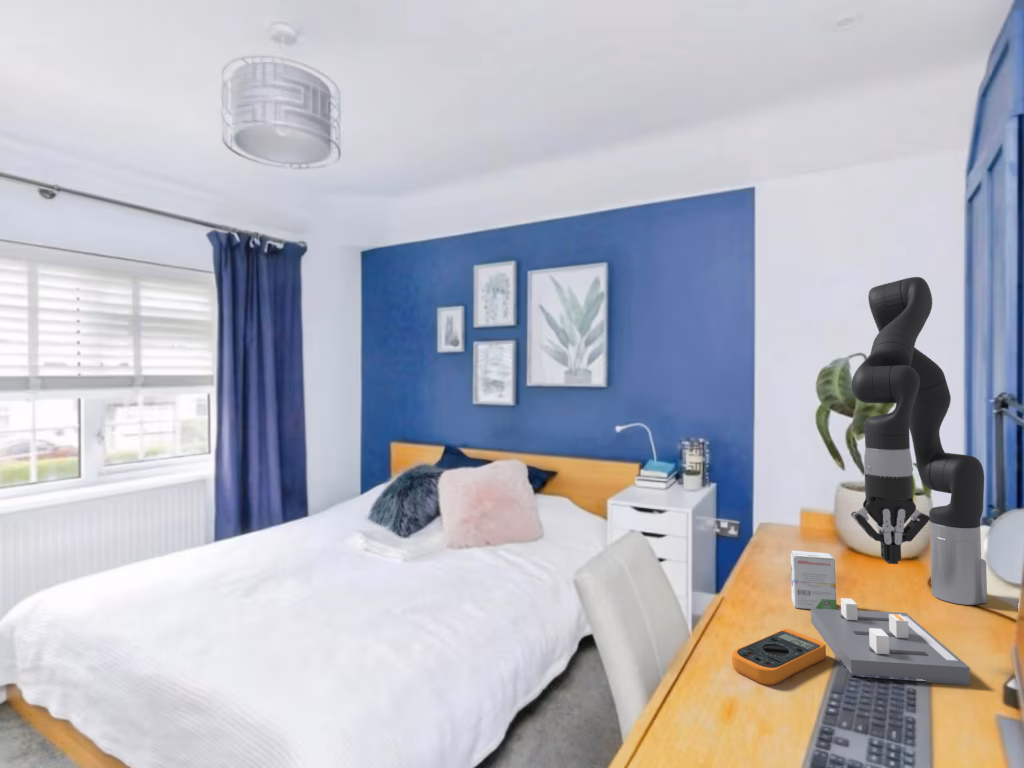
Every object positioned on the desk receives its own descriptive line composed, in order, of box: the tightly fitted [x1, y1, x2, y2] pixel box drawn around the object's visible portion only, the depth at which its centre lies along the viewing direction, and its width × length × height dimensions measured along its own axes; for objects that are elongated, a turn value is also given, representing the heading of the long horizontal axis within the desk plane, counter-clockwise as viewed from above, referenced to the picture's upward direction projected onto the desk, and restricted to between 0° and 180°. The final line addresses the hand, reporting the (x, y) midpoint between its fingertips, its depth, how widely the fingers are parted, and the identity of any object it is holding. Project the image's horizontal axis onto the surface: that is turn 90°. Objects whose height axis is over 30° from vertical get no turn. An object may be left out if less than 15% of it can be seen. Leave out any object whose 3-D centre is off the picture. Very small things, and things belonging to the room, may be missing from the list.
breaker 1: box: [840, 597, 858, 620], centre depth 114 cm, size 2×3×3 cm, turn 168°
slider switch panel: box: [810, 608, 971, 686], centre depth 106 cm, size 18×22×3 cm
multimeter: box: [731, 628, 827, 686], centre depth 103 cm, size 9×18×3 cm, turn 121°
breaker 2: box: [869, 628, 889, 654], centre depth 100 cm, size 2×3×3 cm, turn 168°
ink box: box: [790, 550, 838, 610], centre depth 127 cm, size 9×5×12 cm, turn 70°
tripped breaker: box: [889, 614, 909, 638], centre depth 105 cm, size 2×3×3 cm, turn 168°
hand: (891, 562), depth 106 cm, fingers closed
